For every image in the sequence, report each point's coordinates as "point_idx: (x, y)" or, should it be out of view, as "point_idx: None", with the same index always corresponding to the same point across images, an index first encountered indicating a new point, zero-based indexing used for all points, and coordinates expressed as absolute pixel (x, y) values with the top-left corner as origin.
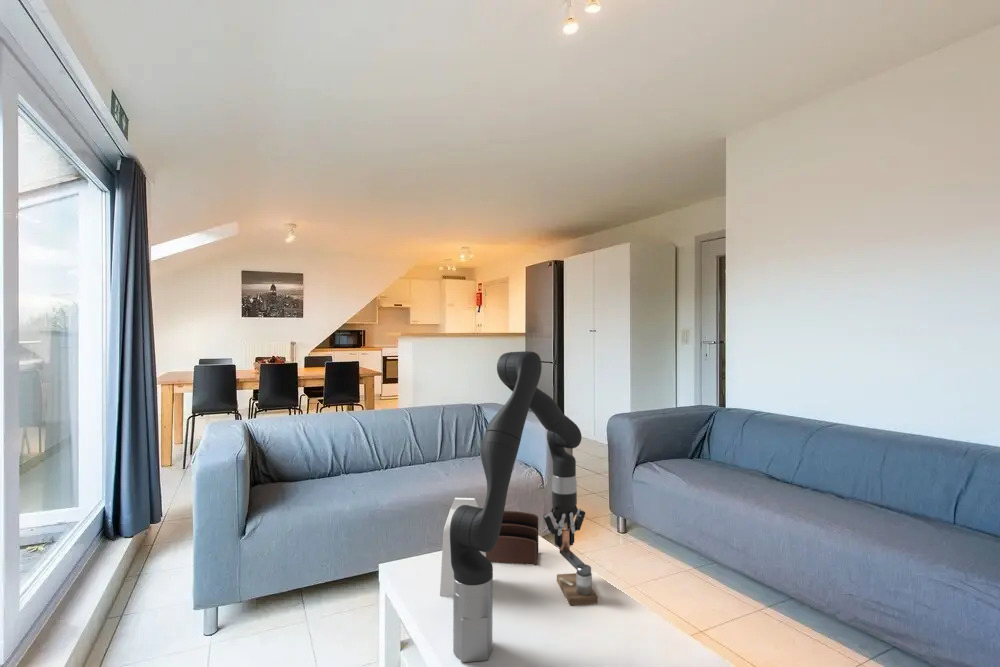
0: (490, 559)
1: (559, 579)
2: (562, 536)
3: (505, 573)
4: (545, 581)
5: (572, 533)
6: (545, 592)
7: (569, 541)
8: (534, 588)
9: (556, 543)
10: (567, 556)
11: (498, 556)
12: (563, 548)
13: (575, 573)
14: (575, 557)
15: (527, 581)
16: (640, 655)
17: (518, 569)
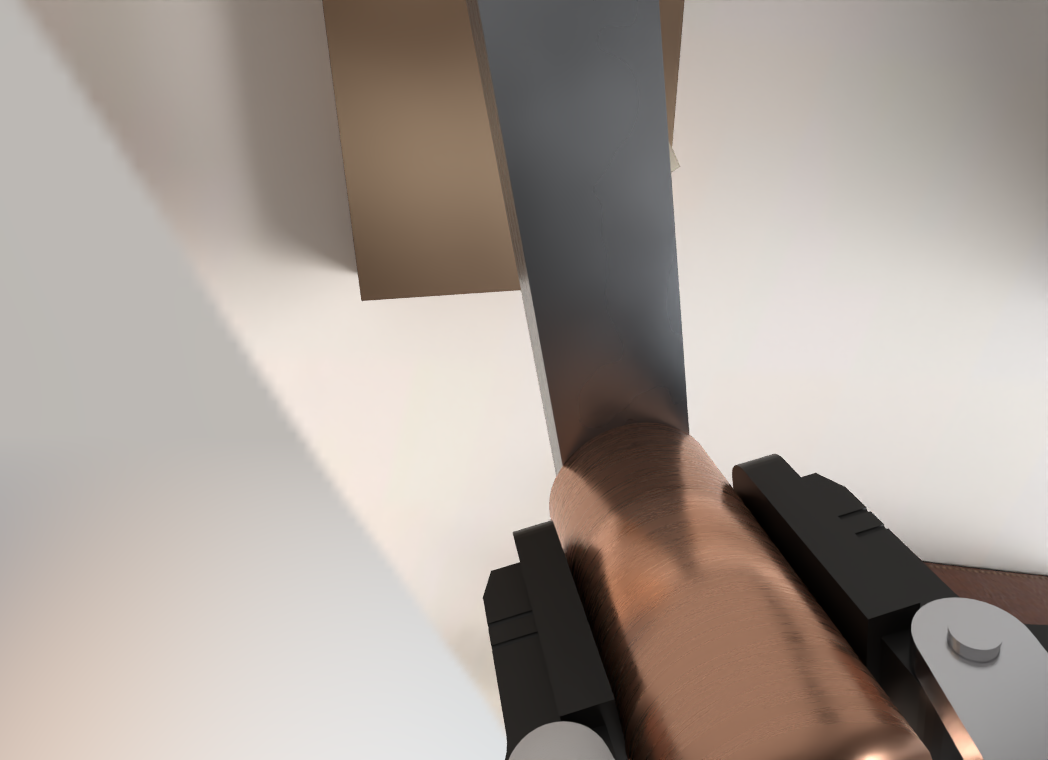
0: (1030, 585)
1: (673, 154)
2: (818, 611)
3: (997, 414)
4: (742, 261)
5: (566, 724)
6: (828, 26)
7: (604, 557)
8: (894, 129)
9: (849, 504)
10: (670, 240)
11: (1003, 601)
12: (691, 448)
13: (447, 291)
14: (551, 149)
15: (895, 272)
16: None
17: (876, 474)
